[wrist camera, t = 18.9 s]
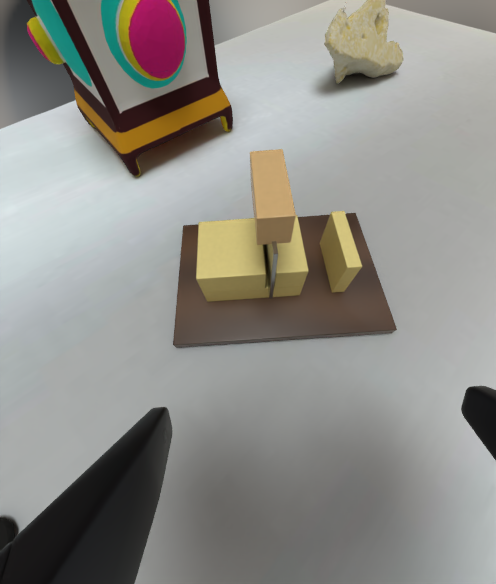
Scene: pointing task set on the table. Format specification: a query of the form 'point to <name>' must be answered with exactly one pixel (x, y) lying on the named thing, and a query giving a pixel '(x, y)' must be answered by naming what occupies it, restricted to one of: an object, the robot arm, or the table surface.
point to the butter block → (246, 262)
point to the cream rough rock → (362, 42)
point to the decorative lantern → (135, 67)
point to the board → (283, 300)
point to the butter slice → (339, 252)
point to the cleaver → (6, 532)
